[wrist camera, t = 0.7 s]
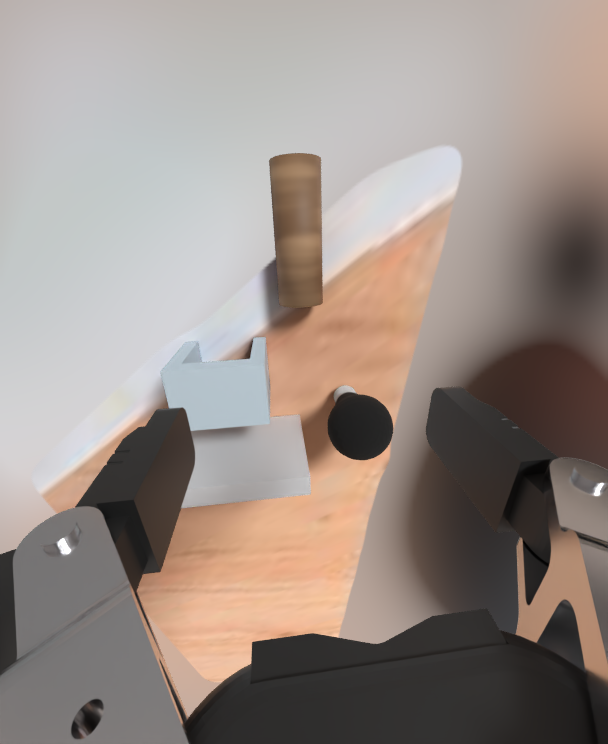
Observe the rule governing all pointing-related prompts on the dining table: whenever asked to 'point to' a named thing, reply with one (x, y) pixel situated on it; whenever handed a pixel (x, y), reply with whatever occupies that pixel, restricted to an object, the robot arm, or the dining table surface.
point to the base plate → (249, 463)
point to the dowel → (297, 228)
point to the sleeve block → (219, 388)
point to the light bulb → (359, 425)
